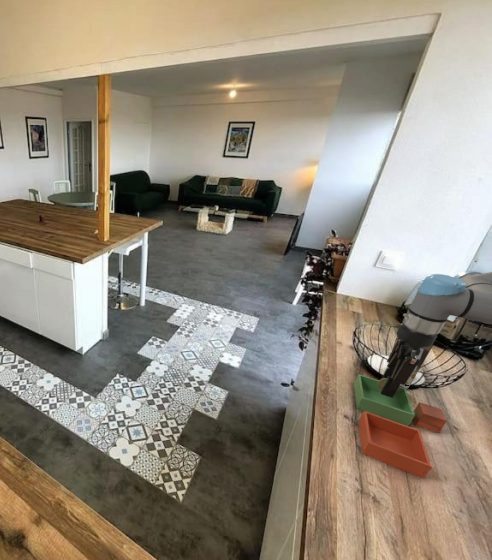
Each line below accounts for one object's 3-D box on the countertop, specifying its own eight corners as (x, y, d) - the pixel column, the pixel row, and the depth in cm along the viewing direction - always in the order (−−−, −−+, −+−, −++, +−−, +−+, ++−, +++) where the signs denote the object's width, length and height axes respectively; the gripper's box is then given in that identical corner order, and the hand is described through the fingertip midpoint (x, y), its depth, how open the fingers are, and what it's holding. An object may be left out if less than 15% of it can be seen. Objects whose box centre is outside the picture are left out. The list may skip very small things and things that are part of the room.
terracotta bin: (412, 441, 86) (419, 430, 84) (423, 478, 77) (432, 467, 75) (358, 421, 92) (363, 410, 90) (362, 453, 83) (368, 442, 81)
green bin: (400, 399, 100) (406, 388, 98) (408, 426, 91) (415, 415, 89) (353, 384, 106) (358, 374, 104) (356, 408, 97) (361, 397, 95)
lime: (398, 397, 94) (405, 385, 91) (382, 397, 94) (389, 384, 92) (386, 386, 98) (393, 374, 95) (371, 386, 98) (377, 374, 96)
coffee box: (408, 390, 103) (430, 351, 96) (384, 379, 108) (403, 342, 101) (413, 377, 109) (434, 340, 102) (390, 367, 113) (409, 331, 106)
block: (434, 421, 92) (442, 409, 90) (438, 433, 88) (447, 421, 86) (411, 413, 95) (419, 401, 92) (415, 425, 91) (423, 413, 89)
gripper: (396, 310, 94) (367, 370, 104) (408, 339, 81) (373, 403, 91) (429, 318, 90) (396, 379, 100) (447, 348, 77) (406, 414, 88)
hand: (385, 390), depth 96 cm, fingers closed on lime, 4 cm apart
